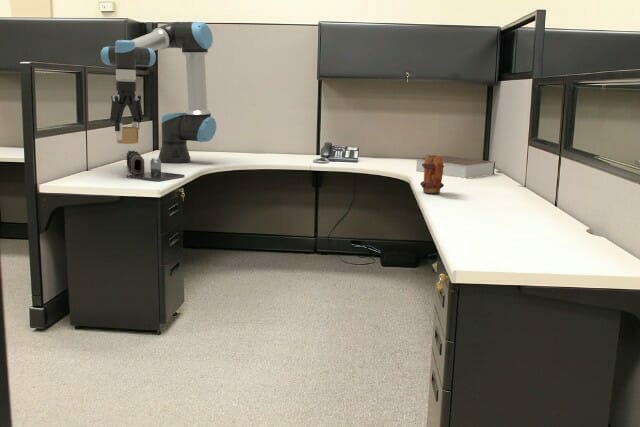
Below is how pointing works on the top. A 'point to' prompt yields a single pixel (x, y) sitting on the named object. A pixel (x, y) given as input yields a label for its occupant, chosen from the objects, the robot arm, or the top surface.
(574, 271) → the top surface
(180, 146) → the robot arm
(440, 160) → the mug
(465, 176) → the book
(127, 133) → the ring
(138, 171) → the tube
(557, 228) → the top surface
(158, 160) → the dark piece
